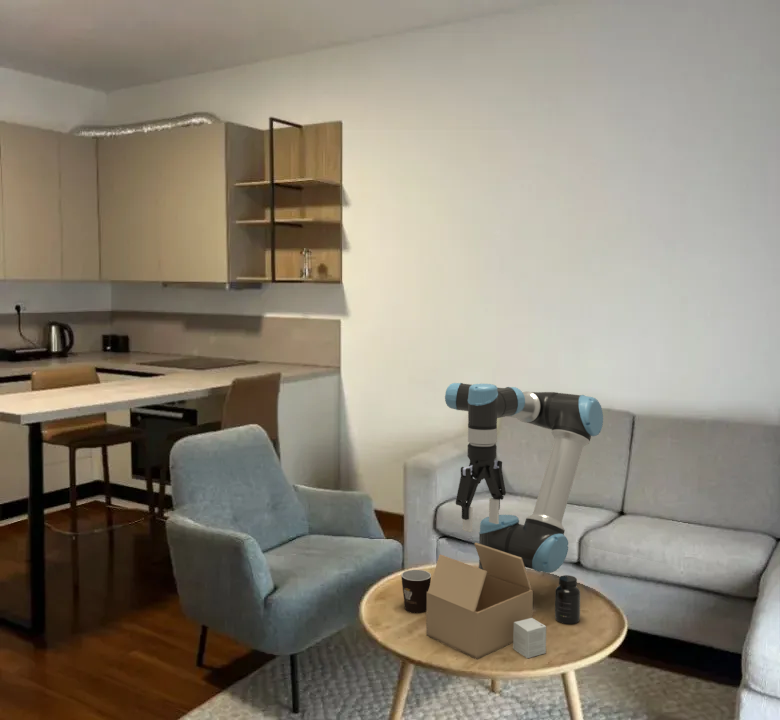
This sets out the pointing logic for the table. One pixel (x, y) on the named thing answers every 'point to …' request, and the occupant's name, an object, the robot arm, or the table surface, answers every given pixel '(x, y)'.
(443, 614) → the carton
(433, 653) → the table surface
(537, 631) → the product box
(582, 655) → the table surface
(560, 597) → the supplement bottle
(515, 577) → the flap
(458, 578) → the flap
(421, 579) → the coffee mug
